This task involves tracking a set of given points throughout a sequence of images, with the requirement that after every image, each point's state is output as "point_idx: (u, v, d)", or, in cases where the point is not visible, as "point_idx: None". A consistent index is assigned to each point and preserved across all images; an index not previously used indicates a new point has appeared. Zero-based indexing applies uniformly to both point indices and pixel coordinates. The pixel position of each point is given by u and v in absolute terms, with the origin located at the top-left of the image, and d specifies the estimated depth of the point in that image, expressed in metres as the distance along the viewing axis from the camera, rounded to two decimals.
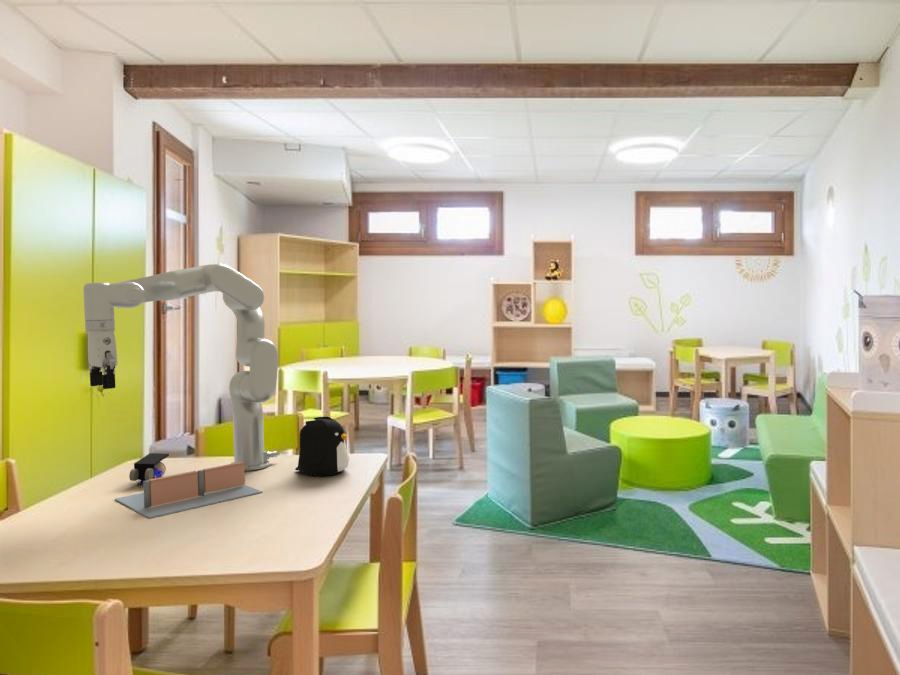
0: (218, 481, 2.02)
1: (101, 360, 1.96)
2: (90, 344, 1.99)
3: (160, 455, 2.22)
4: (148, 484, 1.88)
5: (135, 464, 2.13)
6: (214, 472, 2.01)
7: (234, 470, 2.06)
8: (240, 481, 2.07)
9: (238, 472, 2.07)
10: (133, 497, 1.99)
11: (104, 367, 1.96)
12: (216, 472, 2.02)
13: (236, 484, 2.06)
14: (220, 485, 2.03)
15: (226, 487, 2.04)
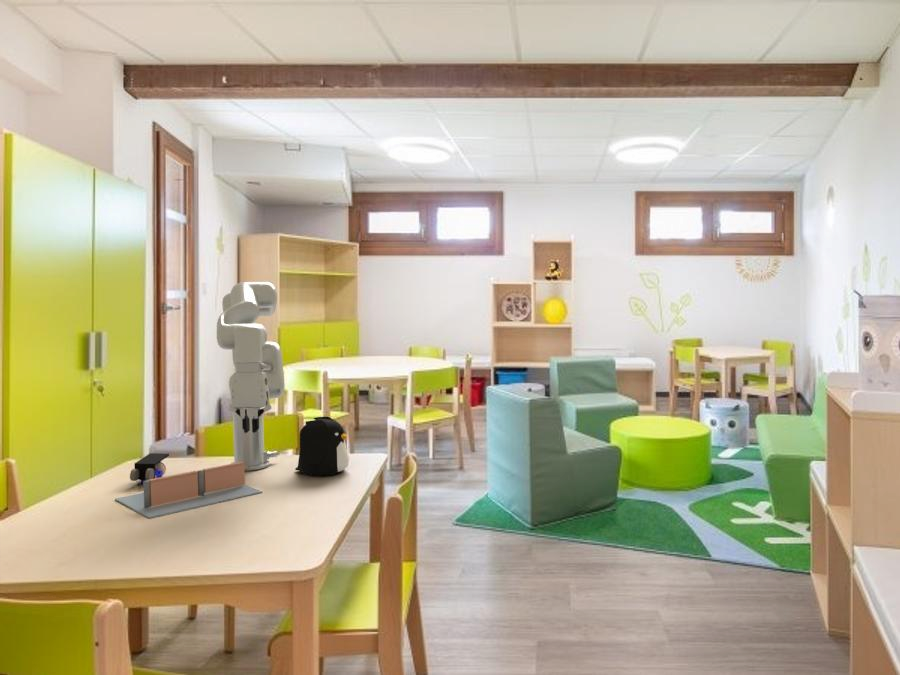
0: (218, 481, 2.02)
1: (265, 400, 2.02)
2: (244, 386, 2.01)
3: (160, 455, 2.22)
4: (148, 484, 1.88)
5: (136, 464, 2.13)
6: (214, 472, 2.01)
7: (234, 470, 2.06)
8: (240, 481, 2.07)
9: (238, 472, 2.07)
10: (133, 497, 1.99)
11: (258, 412, 2.03)
12: (216, 472, 2.02)
13: (236, 484, 2.06)
14: (220, 485, 2.03)
15: (226, 487, 2.04)
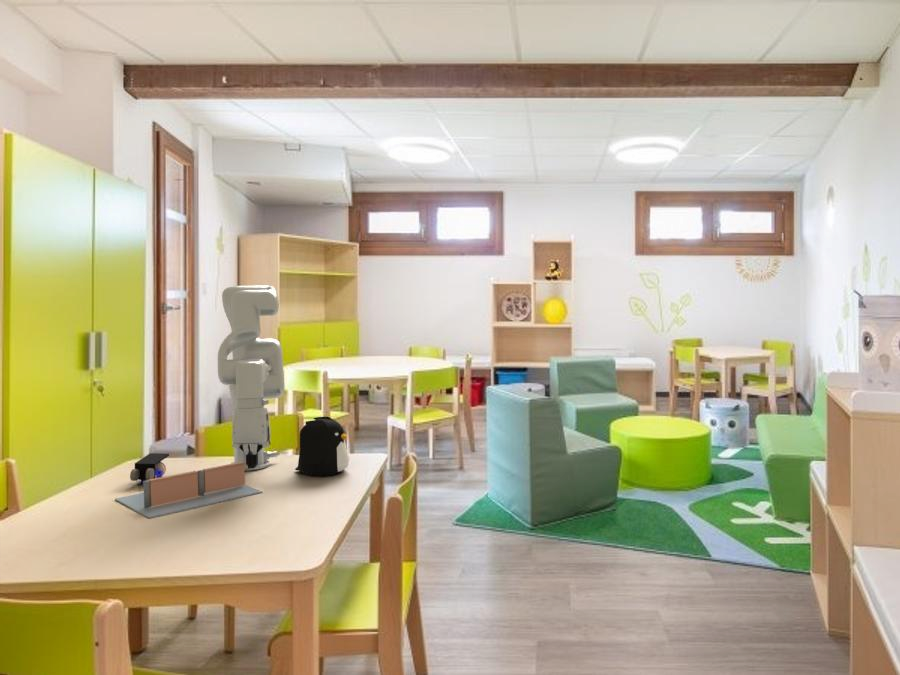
0: (218, 481, 2.02)
1: (266, 436, 2.03)
2: (245, 422, 2.02)
3: (160, 455, 2.22)
4: (148, 484, 1.88)
5: (136, 464, 2.13)
6: (214, 472, 2.01)
7: (234, 470, 2.06)
8: (240, 481, 2.07)
9: (238, 472, 2.07)
10: (133, 497, 1.99)
11: (257, 447, 2.03)
12: (216, 472, 2.02)
13: (236, 484, 2.06)
14: (220, 485, 2.03)
15: (226, 487, 2.04)
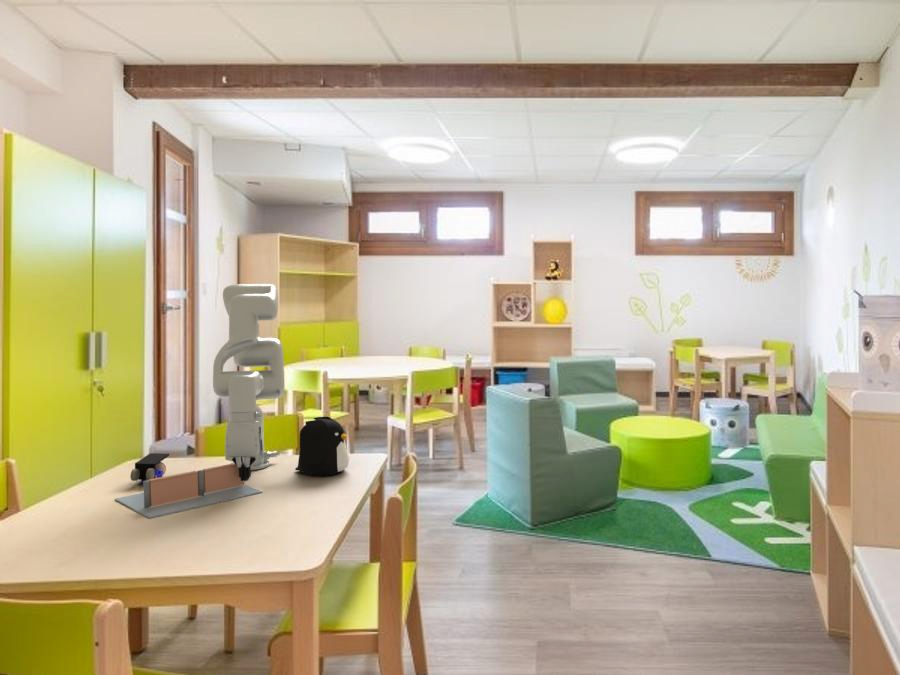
0: (218, 481, 2.03)
1: (259, 449, 2.03)
2: (238, 435, 2.02)
3: (160, 455, 2.22)
4: (148, 484, 1.88)
5: (136, 464, 2.13)
6: (214, 472, 2.01)
7: (234, 470, 2.06)
8: (240, 481, 2.07)
9: (238, 472, 2.07)
10: (133, 497, 1.99)
11: (250, 460, 2.04)
12: (216, 472, 2.02)
13: (236, 484, 2.07)
14: (220, 485, 2.03)
15: (226, 487, 2.04)
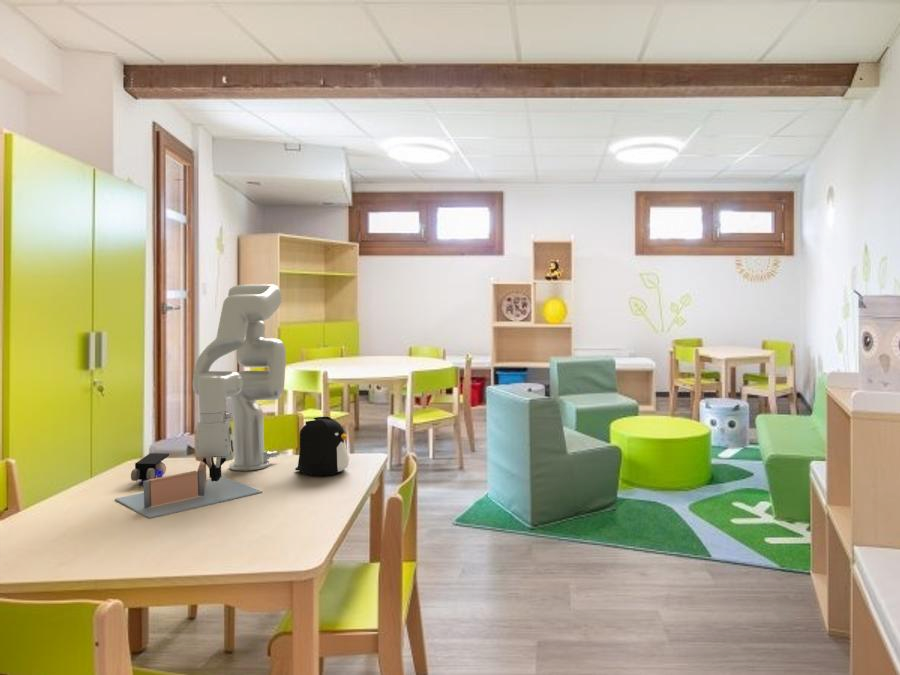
0: (204, 479, 2.04)
1: (229, 450, 2.04)
2: (208, 436, 2.03)
3: (160, 455, 2.22)
4: (148, 484, 1.88)
5: (136, 464, 2.13)
6: (203, 471, 2.03)
7: (205, 468, 2.09)
8: (206, 478, 2.11)
9: (205, 469, 2.10)
10: (133, 497, 1.99)
11: (220, 461, 2.05)
12: None
13: None
14: (204, 483, 2.05)
15: (205, 485, 2.07)
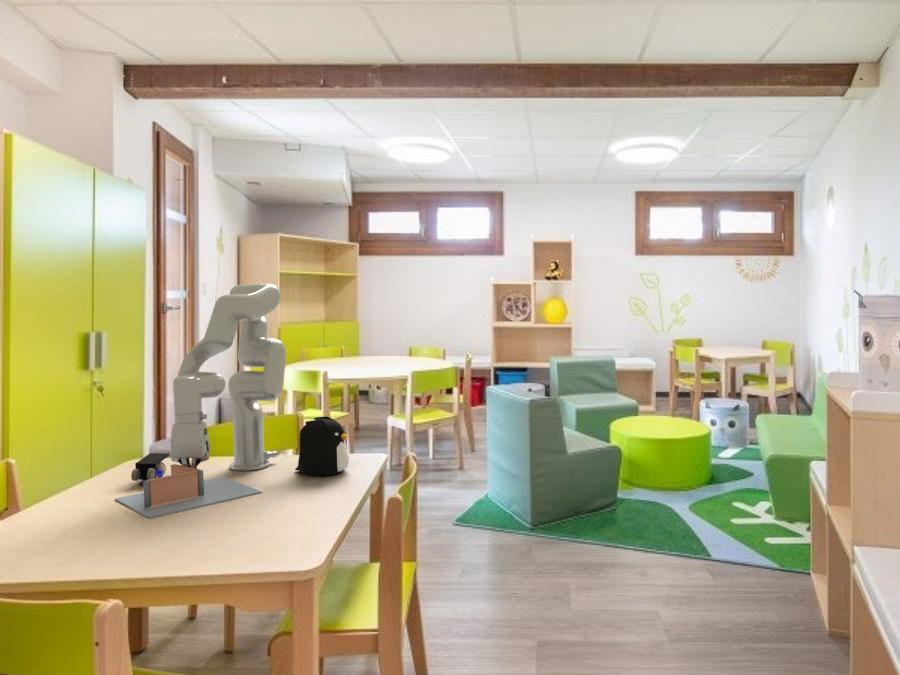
0: None
1: (204, 450, 2.05)
2: (183, 437, 2.04)
3: (160, 455, 2.22)
4: (148, 484, 1.88)
5: (136, 464, 2.13)
6: None
7: None
8: None
9: None
10: (133, 497, 1.99)
11: (195, 461, 2.06)
12: None
13: None
14: None
15: None
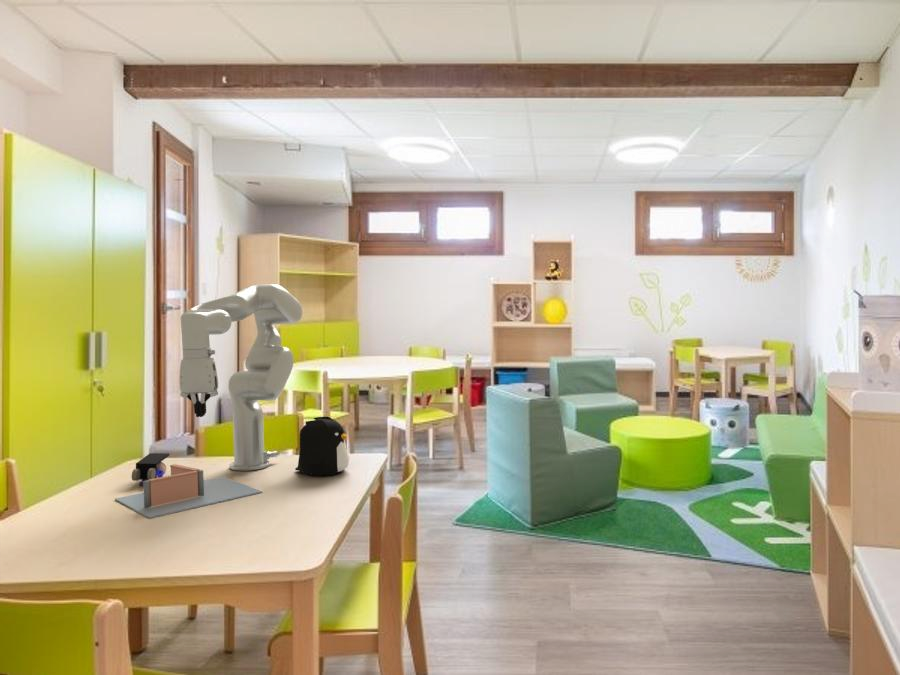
0: None
1: (213, 385, 2.07)
2: (192, 372, 2.05)
3: (160, 455, 2.22)
4: (148, 484, 1.88)
5: (137, 464, 2.13)
6: None
7: None
8: None
9: None
10: (133, 497, 1.99)
11: (204, 397, 2.08)
12: None
13: None
14: None
15: None
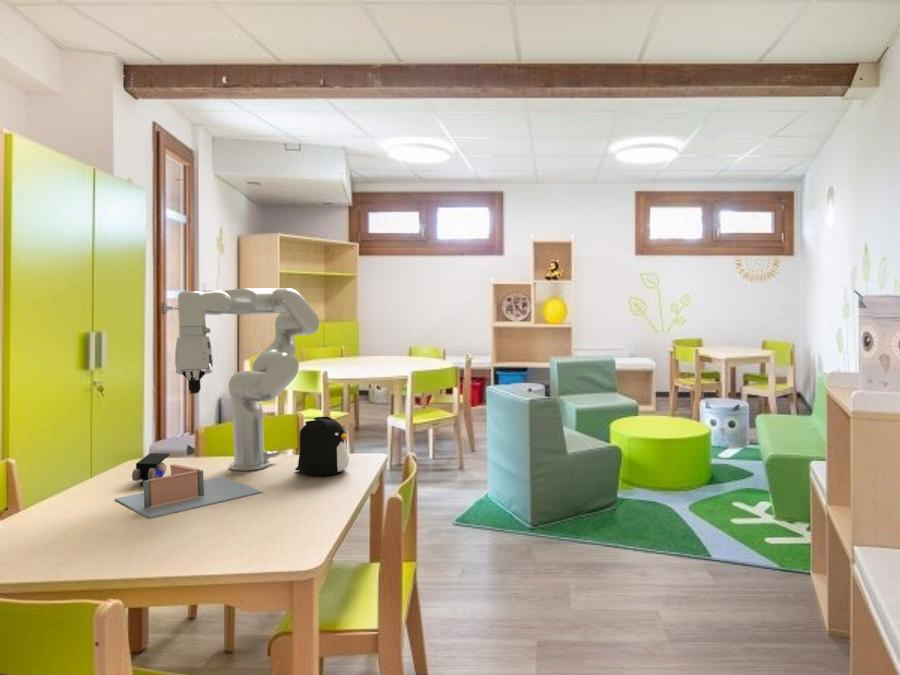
0: None
1: (207, 363, 2.13)
2: (187, 349, 2.12)
3: (161, 455, 2.22)
4: (148, 484, 1.88)
5: (137, 464, 2.13)
6: None
7: None
8: None
9: None
10: (133, 497, 1.99)
11: (199, 374, 2.14)
12: None
13: None
14: None
15: None
